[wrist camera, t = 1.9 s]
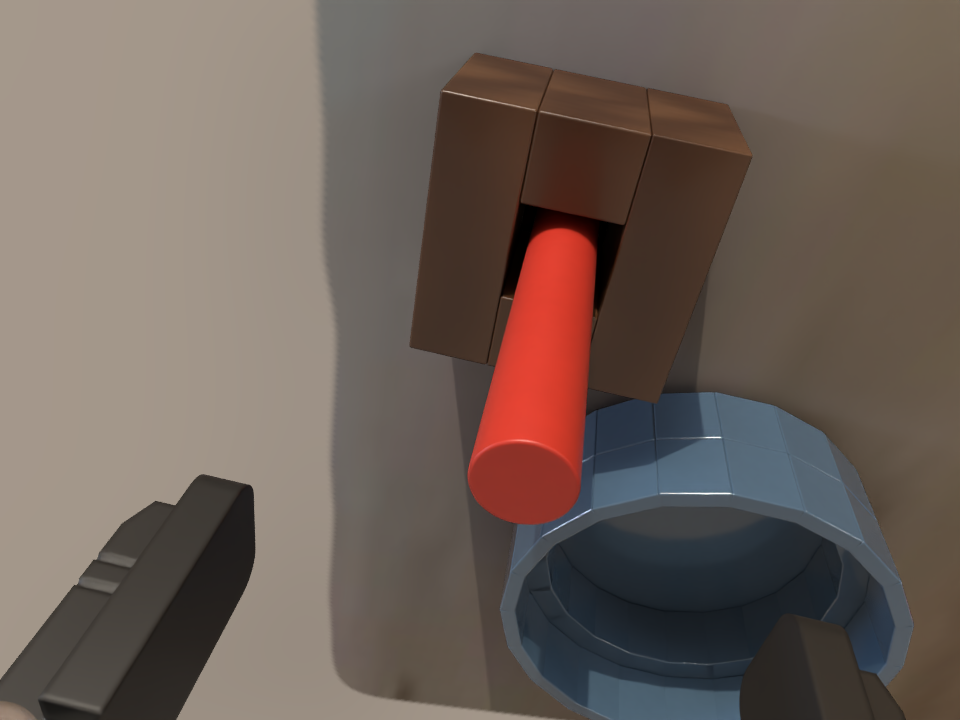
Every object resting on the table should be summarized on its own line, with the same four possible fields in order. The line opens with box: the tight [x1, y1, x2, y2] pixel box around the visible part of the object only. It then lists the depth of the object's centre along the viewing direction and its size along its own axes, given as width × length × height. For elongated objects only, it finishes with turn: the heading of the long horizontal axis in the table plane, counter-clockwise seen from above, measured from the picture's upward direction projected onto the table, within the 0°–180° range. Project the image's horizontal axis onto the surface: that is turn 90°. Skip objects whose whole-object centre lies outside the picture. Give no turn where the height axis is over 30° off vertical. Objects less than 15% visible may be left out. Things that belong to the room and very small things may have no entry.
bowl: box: [500, 392, 914, 720], centre depth 29 cm, size 14×14×6 cm
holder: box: [410, 53, 752, 404], centre depth 22 cm, size 8×8×5 cm
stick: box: [467, 207, 599, 525], centre depth 18 cm, size 2×2×14 cm
